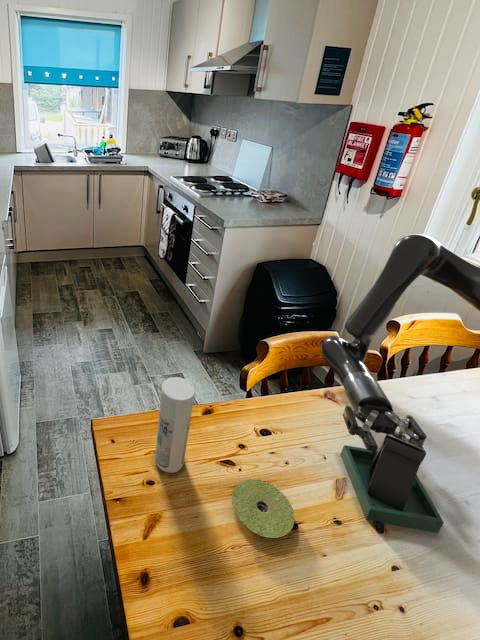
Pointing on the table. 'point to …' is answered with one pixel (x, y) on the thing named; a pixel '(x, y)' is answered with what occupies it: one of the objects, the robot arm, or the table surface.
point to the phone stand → (394, 471)
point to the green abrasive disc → (263, 508)
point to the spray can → (174, 423)
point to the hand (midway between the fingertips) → (398, 454)
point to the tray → (414, 514)
